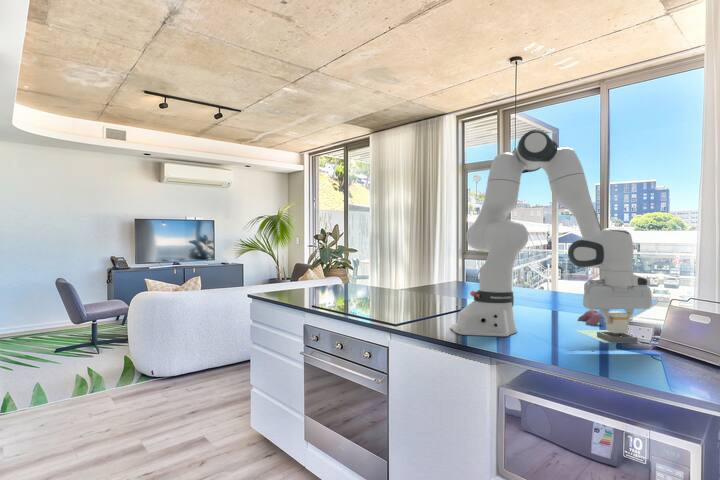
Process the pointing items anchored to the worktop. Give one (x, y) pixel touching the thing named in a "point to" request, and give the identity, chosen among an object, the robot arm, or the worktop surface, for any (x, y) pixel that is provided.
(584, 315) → the reddish-brown rounded lump
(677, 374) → the worktop surface
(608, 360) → the worktop surface
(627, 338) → the board
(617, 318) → the plug
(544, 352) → the worktop surface
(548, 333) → the worktop surface
